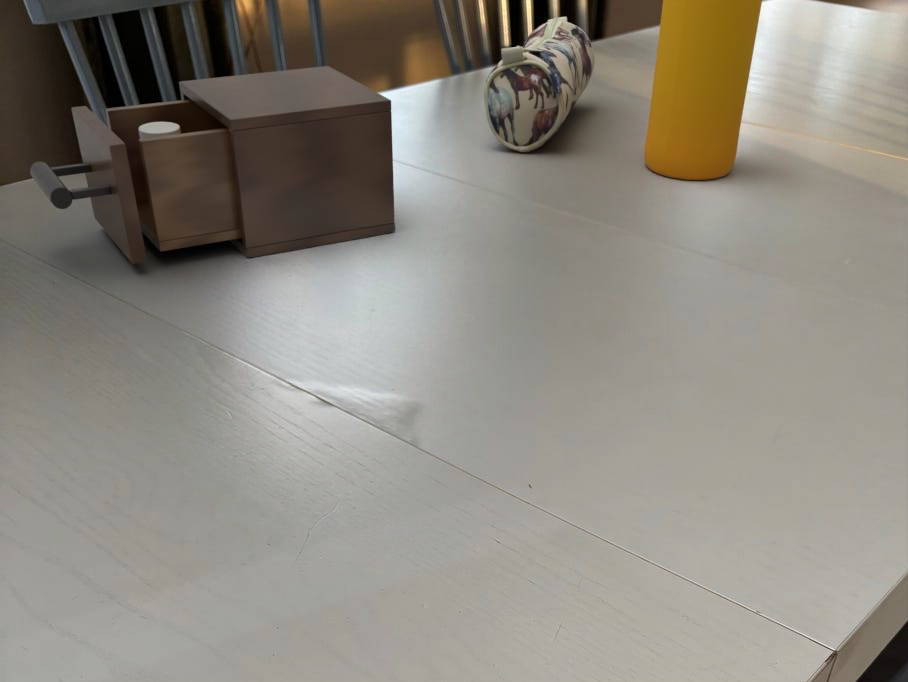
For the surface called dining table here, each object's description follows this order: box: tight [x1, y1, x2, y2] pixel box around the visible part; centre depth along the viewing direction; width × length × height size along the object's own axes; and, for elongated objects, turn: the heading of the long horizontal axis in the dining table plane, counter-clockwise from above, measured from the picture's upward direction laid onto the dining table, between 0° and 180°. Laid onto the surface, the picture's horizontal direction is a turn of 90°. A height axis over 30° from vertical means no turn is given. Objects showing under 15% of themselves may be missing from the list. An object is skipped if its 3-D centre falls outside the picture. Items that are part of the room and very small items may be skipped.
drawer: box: [29, 99, 242, 265], centre depth 85 cm, size 17×11×9 cm, turn 120°
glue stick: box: [139, 122, 181, 139], centre depth 85 cm, size 3×3×7 cm
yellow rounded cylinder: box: [643, 0, 763, 181], centre depth 98 cm, size 9×9×29 cm
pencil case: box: [483, 16, 596, 153], centre depth 114 cm, size 22×8×10 cm, turn 166°
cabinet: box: [178, 65, 396, 259], centre depth 90 cm, size 14×13×11 cm
